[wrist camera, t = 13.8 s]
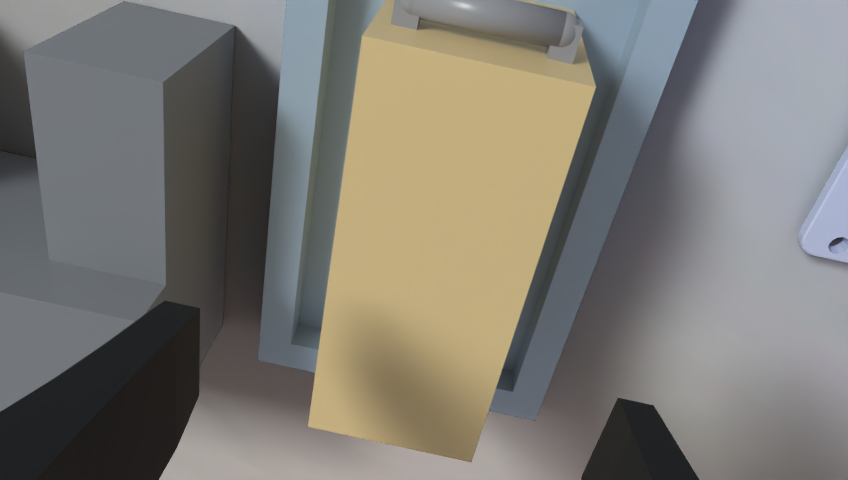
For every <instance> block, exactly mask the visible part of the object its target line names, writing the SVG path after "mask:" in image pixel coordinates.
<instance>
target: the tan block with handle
mask: <svg viewBox="0 0 848 480" xmlns="http://www.w3.org/2000/svg"><path fill="white" fill-rule="evenodd" d="M583 29H584V26H583V23H582V20H578V19H577V18H576V15H575V12H574V10H571V9H567V8H562V7H558V6H553V5H548V4H544V3H539V2H535V1H530V0H386V1H385V2H384V4H383V5H382V7H381V8H380V10H379V11H378V13H377V14H376V16H375V17H374V19H373V20H372V22H371V23H370V25H369V26H368V28H367V29H366V31H365V32H364V34H363V35H362V40H361V48H360V55H359V62H358V69H357V76H356V84H355V91H354V98H353V105H352V112H351V120H350V127H349V134H348V141H347V148H346V156H345V163H344V170H343V177H342V184H341V192H340V199H339V206H338V213H337V220H336V228H335V235H334V242H333V249H332V256H331V263H330V271H329V278H328V285H327V292H326V299H325V307H324V314H323V321H322V328H321V335H320V343H319V350H318V357H317V364H316V371H315V379H314V386H313V393H312V400H311V407H310V415H309V422H308V427H311V428H316V429H321V430H325V431H330V432H334V433H339V434H344V435H348V436H353V437H357V438H362V439H367V440H371V441H376V442H380V443H385V444H390V445H394V446H399V447H404V448H408V449H413V450H417V451H422V452H427V453H431V454H436V455H440V456H445V457H450V458H454V459H459V460H463V461H468V462H472V459H473V456H474V453H475V450H476V447H477V444H478V441H479V438H480V435H481V432H482V429H483V426H484V423H485V420H486V417H487V414H488V411H489V408H490V405H491V402H492V399H493V396H494V393H495V390H496V387H497V384H498V381H499V378H500V375H501V372H502V369H503V366H504V363H505V360H506V357H507V354H508V351H509V348H510V345H511V342H512V339H513V336H514V333H515V330H516V327H517V324H518V321H519V318H520V314H521V311H522V308H523V305H524V302H525V299H526V296H527V293H528V290H529V287H530V284H531V281H532V278H533V275H534V272H535V269H536V266H537V263H538V260H539V257H540V254H541V251H542V248H543V245H544V242H545V239H546V236H547V233H548V230H549V227H550V224H551V221H552V218H553V215H554V212H555V209H556V206H557V203H558V200H559V197H560V194H561V191H562V188H563V185H564V182H565V179H566V176H567V173H568V170H569V167H570V164H571V161H572V158H573V155H574V152H575V149H576V146H577V143H578V140H579V137H580V134H581V131H582V128H583V125H584V122H585V119H586V116H587V113H588V110H589V107H590V104H591V101H592V98H593V95H594V92H595V89H596V85H595V82H594V78H593V75H592V71H591V68H590V64H589V61H588V57H587V54H586V50H585V47H584V43H583V40H582V36H581V35H582V32H583Z"/></svg>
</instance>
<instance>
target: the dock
mask: <svg viewBox="0 0 848 480" xmlns="http://www.w3.org/2000/svg"><path fill="white" fill-rule="evenodd" d="M234 34H235V26H234V25H229V24H225V23H220V22H216V21H211V20H207V19H202V18H197V17H193V16H188V15H184V14H179V13H175V12H170V11H166V10H161V9H157V8H152V7H147V6H143V5H138V4H134V3H129V2H125V1H124V2H122V3H120V4H118V5H116V6H114V7H112V8H110V9H108V10H106V11H104V12H102V13H100V14H98V15H96V16H94V17H92V18H90V19H88V20H86V21H84V22H82V23H80V24H78V25H76V26H74V27H72V28H70V29H68V30H66V31H64V32H62V33H60V34H58V35H56V36H54V37H52V38H50V39H48V40H46V41H44V42H42V43H40V44H38V45H36V46H34V47H32V48H30V49H28V50H26V51H24V52H23V53H24V61H25V69H26V77H27V85H28V93H29V101H30V109H31V117H32V125H33V134H34V142H35V150H36V158H37V159H36V158H31V157H27V156H22V155H18V154H13V153H9V152H4V151H0V411H2V410H4V409H5V408H7V407H9V406H10V405H12V404H13V403H15V402H17V401H18V400H20V399H21V398H23V397H25V396H26V395H28V394H30V393H31V392H33V391H34V390H36V389H38V388H39V387H41V386H42V385H44V384H46V383H47V382H49V381H50V380H52V379H53V378H55V377H56V376H58V375H60V374H61V373H62V372H64V371H65V370H67V369H68V368H70V367H71V366H73V365H74V364H76V363H77V362H79V361H80V360H81V359H83V358H84V357H86V356H87V355H89V354H90V353H92V352H93V351H95V350H96V349H98V348H99V347H100V346H102V345H103V344H105V343H106V342H107V341H109V340H110V339H112V338H113V337H114V336H116V335H117V334H119V333H120V332H121V331H123V330H124V329H125V328H127V327H128V326H130V325H131V324H132V323H134V322H135V321H136V320H138V319H139V318H140V317H142V316H143V315H145V314H146V313H147V312H149V311H150V310H152V309H153V308H154V307H156V306H157V305H159V304H160V303H162V302H164V301H169V302H174V303H178V304H183V305H188V306H192V307H197V308H200V361H199V366H200V364H201V363H202V361H203V359H204V357H205V355H206V354H207V352H208V350H209V348H210V347H211V345H212V343H213V341H214V340H215V338H216V336H217V334H218V332H219V331H220V329H221V327H222V325H223V304H224V279H225V255H226V230H227V206H228V181H229V157H230V132H231V108H232V83H233V58H234Z"/></svg>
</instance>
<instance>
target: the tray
mask: <svg viewBox="0 0 848 480" xmlns="http://www.w3.org/2000/svg"><path fill="white" fill-rule="evenodd" d="M385 1H386V0H286V9H285V22H284V34H283V47H282V60H281V73H280V85H279V98H278V111H277V124H276V136H275V149H274V162H273V175H272V187H271V200H270V213H269V226H268V238H267V251H266V264H265V277H264V289H263V302H262V315H261V328H260V340H259V353H258V361H263V362H268V363H272V364H277V365H281V366H286V367H291V368H295V369H300V370H304V371H309V372H314V373H315V371H316V364H317V357H318V350H319V343H320V335H321V328H322V321H323V314H324V307H325V299H326V292H327V285H328V278H329V271H330V263H331V256H332V249H333V242H334V235H335V228H336V220H337V213H338V206H339V199H340V192H341V184H342V177H343V170H344V163H345V156H346V148H347V141H348V134H349V127H350V120H351V112H352V105H353V98H354V91H355V84H356V76H357V69H358V62H359V55H360V48H361V40H362V35H363V34H364V32H365V31H366V29H367V28H368V26H369V25H370V23H371V22H372V20H373V19H374V17H375V16H376V14H377V13H378V11H379V10H380V8H381V7H382V5H383V4H384V2H385ZM530 1H535V2H539V3H544V4H548V5H553V6H558V7H562V8H567V9H571V10H574V12H575V15H576V18H577V19H578V20H582V23H583V26H584V29H583V32H582V35H581V36H582V40H583V43H584V47H585V50H586V54H587V57H588V61H589V64H590V68H591V71H592V75H593V78H594V82H595V85H596V89H595V92H594V95H593V98H592V101H591V104H590V107H589V110H588V113H587V116H586V119H585V122H584V125H583V128H582V131H581V134H580V137H579V140H578V143H577V146H576V149H575V152H574V155H573V158H572V161H571V164H570V167H569V170H568V173H567V176H566V179H565V182H564V185H563V188H562V191H561V194H560V197H559V200H558V203H557V206H556V209H555V212H554V215H553V218H552V221H551V224H550V227H549V230H548V233H547V236H546V239H545V242H544V245H543V248H542V251H541V254H540V257H539V260H538V263H537V266H536V269H535V272H534V275H533V278H532V281H531V284H530V287H529V290H528V293H527V296H526V299H525V302H524V305H523V308H522V311H521V314H520V318H519V321H518V324H517V327H516V330H515V333H514V336H513V339H512V342H511V345H510V348H509V351H508V354H507V357H506V360H505V363H504V366H503V369H502V372H501V375H500V378H499V381H498V384H497V387H496V390H495V393H494V396H493V399H492V402H491V405H490V408H489V411H493V412H498V413H502V414H507V415H511V416H516V417H521V418H525V419H530V420H534V421H535V420H536V417H537V415H538V412H539V410H540V407H541V404H542V402H543V399H544V397H545V394H546V392H547V389H548V386H549V384H550V381H551V379H552V376H553V373H554V371H555V368H556V366H557V363H558V361H559V358H560V355H561V353H562V350H563V348H564V345H565V343H566V340H567V337H568V335H569V332H570V330H571V327H572V324H573V322H574V319H575V317H576V314H577V312H578V309H579V306H580V304H581V301H582V299H583V296H584V294H585V291H586V288H587V286H588V283H589V281H590V278H591V275H592V273H593V270H594V268H595V265H596V263H597V260H598V257H599V255H600V252H601V250H602V247H603V244H604V242H605V239H606V237H607V234H608V232H609V229H610V226H611V224H612V221H613V219H614V216H615V214H616V211H617V208H618V206H619V203H620V201H621V198H622V195H623V193H624V190H625V188H626V185H627V183H628V180H629V177H630V175H631V172H632V170H633V167H634V164H635V162H636V159H637V157H638V154H639V152H640V149H641V146H642V144H643V141H644V139H645V136H646V134H647V131H648V128H649V126H650V123H651V121H652V118H653V115H654V113H655V110H656V108H657V105H658V103H659V100H660V97H661V95H662V92H663V90H664V87H665V85H666V82H667V79H668V77H669V74H670V72H671V69H672V66H673V64H674V61H675V59H676V56H677V54H678V51H679V48H680V46H681V43H682V41H683V38H684V35H685V33H686V30H687V28H688V25H689V23H690V20H691V17H692V15H693V12H694V10H695V7H696V5H697V2H698V0H530Z"/></svg>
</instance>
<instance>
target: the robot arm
mask: <svg viewBox="0 0 848 480" xmlns="http://www.w3.org/2000/svg"><path fill="white" fill-rule="evenodd" d="M838 237H844V238H843V240H842V241H841V242H840V243H839V244H837V245H835V246H829V243H830V242H831V241H832V240H833V239H836V238H838ZM797 238H798V243H799V244H800V246H801V247H802V249H803V250H804V251H805V252H806V253H807V254H810V255H812V256H817V257H821V258H826V259H831V260H835V261H840V262H844V263H848V145H847V147H846V149H845V151H844V152H843V154H842V156H841V158H840V160H839V161H838V163H837V165H836V167H835V168H834V170H833V172H832V174H831V176H830V177H829V179H828V181H827V183H826V185H825V186H824V188H823V190H822V192H821V193H820V195H819V197H818V199H817V201H816V202H815V204H814V206H813V208H812V209H811V211H810V213H809V215H808V217H807V218H806V220H805V222H804V224H803V226H802V227H801V229H800V231H799V234H798V237H797ZM199 361H200V308H197V307H192V306H188V305H183V304H178V303H174V302H169V301H164V302H162V303H160V304H159V305H157V306H156V307H154V308H153V309H152V310H150V311H149V312H147V313H146V314H145V315H143V316H142V317H140V318H139V319H138V320H136V321H135V322H134V323H132V324H131V325H130V326H128V327H127V328H125V329H124V330H123V331H121V332H120V333H119V334H117V335H116V336H114V337H113V338H112V339H110V340H109V341H107V342H106V343H105V344H103V345H102V346H100V347H99V348H98V349H96V350H95V351H93V352H92V353H90V354H89V355H87V356H86V357H84V358H83V359H81V360H80V361H79V362H77V363H76V364H74V365H73V366H71V367H70V368H68V369H67V370H65V371H64V372H62V373H61V374H60V375H58V376H56V377H55V378H53V379H52V380H50V381H49V382H47V383H46V384H44V385H42V386H41V387H39V388H38V389H36V390H34V391H33V392H31V393H30V394H28V395H26V396H25V397H23V398H21V399H20V400H18V401H17V402H15V403H13V404H12V405H10V406H9V407H7V408H5V409H4V410H2V411H0V480H159V478H160V476H161V475H162V473H163V471H164V469H165V468H166V466H167V464H168V462H169V461H170V459H171V457H172V455H173V453H174V452H175V450H176V448H177V446H178V443H179V441H180V439H181V437H182V434H183V432H184V430H185V427H186V425H187V423H188V420H189V418H190V416H191V413H192V411H193V408H194V406H195V403H196V401H197V399H198V396H199ZM582 480H699V479H698V477H697V475H696V474H695V472H694V471H693V469H692V467H691V466H690V464H689V462H688V461H687V459H686V458H685V456H684V454H683V453H682V451H681V450H680V448H679V446H678V445H677V443H676V441H675V440H674V438H673V436H672V435H671V433H670V432H669V430H668V428H667V427H666V425H665V423H664V422H663V420H662V418H661V417H660V415H659V414H658V412H657V410H656V409H655V407H654V406H653V405H649V404H644V403H639V402H635V401H630V400H625V399H621V398H618V399H617V401H616V403H615V406H614V408H613V410H612V412H611V414H610V416H609V419H608V421H607V423H606V425H605V427H604V429H603V432H602V434H601V436H600V438H599V440H598V442H597V445H596V447H595V449H594V451H593V453H592V455H591V458H590V460H589V462H588V464H587V466H586V468H585V471H584V473H583V475H582Z"/></svg>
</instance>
